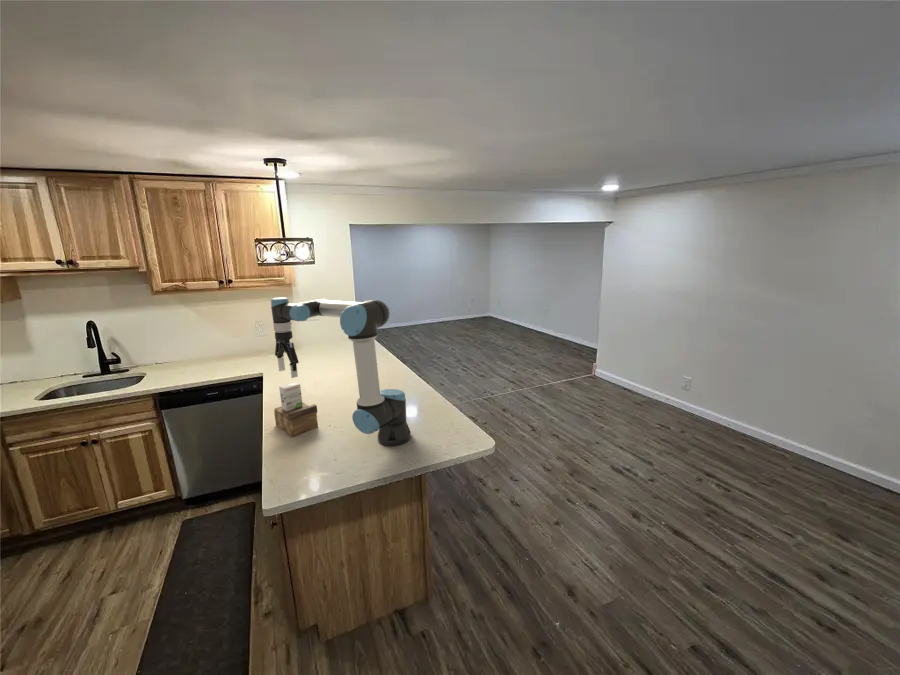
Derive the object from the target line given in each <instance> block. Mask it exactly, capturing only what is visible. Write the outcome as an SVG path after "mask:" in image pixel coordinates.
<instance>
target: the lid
mask: <svg viewBox="0 0 900 675" xmlns="http://www.w3.org/2000/svg"><path fill="white" fill-rule="evenodd" d="M302 405H303V406H301V407H298V408H295V409H293V410H290V411H285V410H283V409H282V406H278V407H276V408H274V410H275V411H277V412H278V413H279V414H281V415H282V416H284V417H285V418H287V419H288V420H289V421H291V422H292V421H295V420H298V419H301V418H303V417H306V416H309V415H312V414H315V413H318V407H317V406H318V405H317V404H311V405H308V404H306V403H305V402H303V401H302Z"/></svg>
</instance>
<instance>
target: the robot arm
mask: <svg viewBox="0 0 900 675" xmlns="http://www.w3.org/2000/svg"><path fill="white" fill-rule="evenodd" d="M270 304H271V305H270V308H271V314H272V321H273V331H274V338H275V350H274V356H275V357H276V358H277V362H278V363H277V364H278V372H283V371H286V366H285V365H286V364H285V357H284V353H286V356H287V358H288V360H289V362H290V363H289V368H290V375H291V376H290V377H291V378H292V379H293V378H294V379H295V378H297V377H299V376H298V367H297V364H299V363H300V362H299V358H298V356H297V355H298V354H297V353H296V349H295V346H294V345H295V344H294V342H290V340H291V339H292V338H294V337H293V331H292V329H293V328H292V322H291V321H295V322H305V321H307V320H308V319H311V318H314V317H332V318H339V325H340V328H341V330H342V331H343V333H344V334H345V335H347V337H348V339H349V341H351V342H352V345H353V346H352V347H353V354H354V363H355V371H356V378H357V380H356V381H357V388H358V393H359V394H358V396H359V398H358V399H357V400H356V409H355V410H354V412H353V413H352V416H351V417H352V422H353V424H354V426H355V427H356V429H358V431H359V432H361V433H362V434H364V435H371V434H374V433H375V432H377V441H378V443H379V444H381V445H383V446H388V447H398V446H402V445H405V444H406V443H408V442H409V441H410V440H411V438H412V436H411V435H412V434H411V433H412V432H411V430H410V426H409V424H408V422H407V407H406V406H407V402H406V401H407V399H406V393H405V392H404V391H403V390H402V389H397V388H386V389H382V390H381V386H380V378H379V370H378V362H377V353H376V352H377V351H376V343H375V339H376V338H377V337H378V335H379V334H378V329H379V328H381V327H383V326H385V325H386V324H387V322H388V321H389V319H390V309H389V307H388V305H387V304H386V303H385V302H384V301H381V300H378V299H376V300H375V299H374V300H373V299H372V300H369V299H368V300H365V301H363V302H361V301H345V300H329V299H327V298H317V299H314V300H313V299H312V300H309V301H303V302H297V303H290V301H289V298H287V297H286V296H285V297H284V296H283V297H282V296H281V297H273V298H272V299H271V300H270Z"/></svg>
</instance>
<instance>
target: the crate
mask: <svg viewBox="0 0 900 675" xmlns="http://www.w3.org/2000/svg"><path fill="white" fill-rule="evenodd" d="M273 411H274V412H273V413H274V419H275V426H277V427H278V428H279V429H281V430H282V431H283V432H285V434H287V435H288V436H290V437H291V438H294V437H296V436H300V435H302V434H305V433H308V432H310V431H313V430H316V429H318V428H319V423H318V414H317V413H318V412H317V413H315V414H312V415H309V416H306V417H303V418H301V419H298V420H295V421H292V422H291V421H289V420H288V419H287V418H285V417H284V416H282V415H281V414H279V413H278V412H277V411H275V409H273Z"/></svg>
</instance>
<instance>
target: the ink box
mask: <svg viewBox="0 0 900 675" xmlns="http://www.w3.org/2000/svg"><path fill="white" fill-rule="evenodd" d="M278 388H279V396H280V404H281V407H282V409H283V410H285V411H290V410H293V409H295V408H298V407H301V406H303V405H302V402H303V397H302V390H301V384H300V383H298V382H295V381H294V382H292V383H288V384H285V385H281V386H279V387H278Z"/></svg>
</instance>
